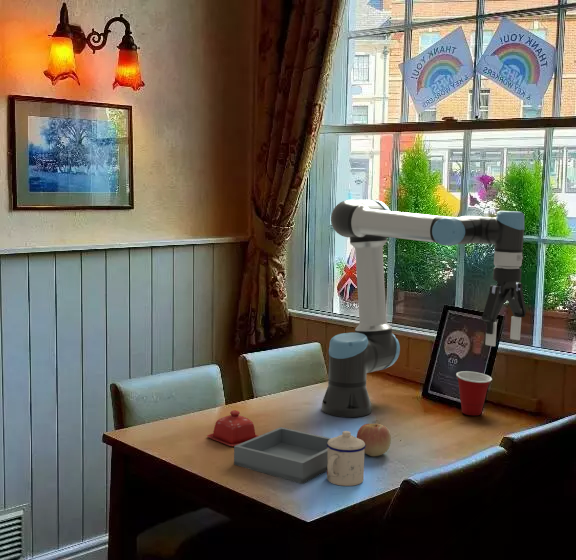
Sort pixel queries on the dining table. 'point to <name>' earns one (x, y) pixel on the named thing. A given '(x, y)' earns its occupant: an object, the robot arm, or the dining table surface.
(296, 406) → the dining table surface
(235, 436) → the butter dish
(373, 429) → the apple
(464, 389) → the plastic cup
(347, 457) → the teacup with lid
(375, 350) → the robot arm
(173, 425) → the dining table surface
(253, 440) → the bin
